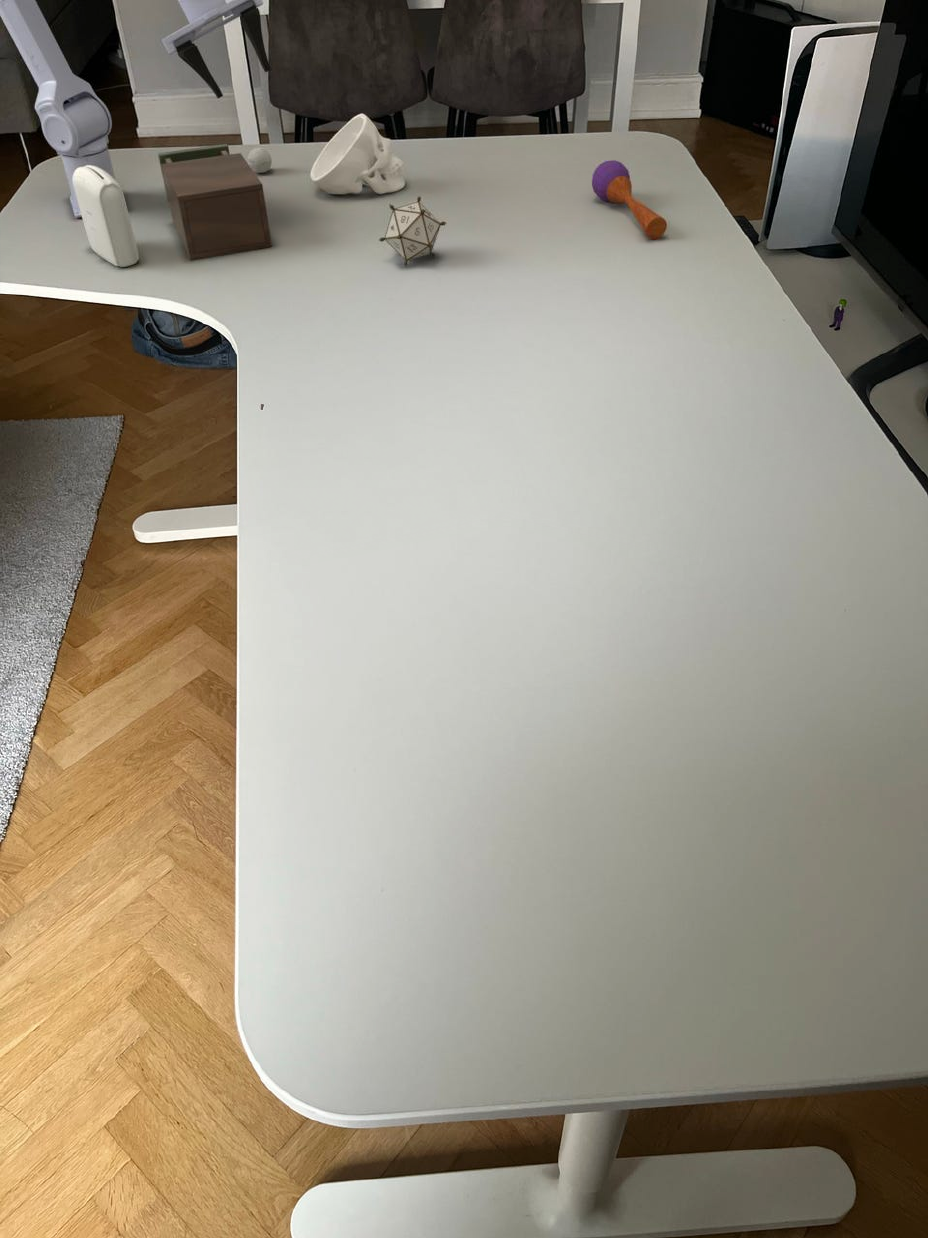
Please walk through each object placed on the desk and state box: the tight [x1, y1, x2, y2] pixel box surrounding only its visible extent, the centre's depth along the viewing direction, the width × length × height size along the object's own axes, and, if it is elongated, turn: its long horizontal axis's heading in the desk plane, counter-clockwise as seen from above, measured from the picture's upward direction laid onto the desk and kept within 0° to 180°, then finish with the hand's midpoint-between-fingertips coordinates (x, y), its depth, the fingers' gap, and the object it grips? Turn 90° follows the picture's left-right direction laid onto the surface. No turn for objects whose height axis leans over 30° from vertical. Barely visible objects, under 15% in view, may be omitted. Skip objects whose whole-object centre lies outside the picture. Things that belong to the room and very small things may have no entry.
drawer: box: [157, 143, 231, 203], centre depth 156 cm, size 18×11×7 cm, turn 22°
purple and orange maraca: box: [591, 159, 668, 240], centre depth 153 cm, size 6×6×20 cm
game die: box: [378, 195, 447, 268], centre depth 141 cm, size 9×8×10 cm
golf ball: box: [247, 147, 273, 174], centre depth 170 cm, size 4×4×4 cm
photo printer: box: [72, 165, 140, 268], centre depth 142 cm, size 10×4×12 cm, turn 39°
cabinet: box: [160, 152, 273, 261], centre depth 148 cm, size 15×12×9 cm
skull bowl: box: [309, 113, 406, 195], centre depth 163 cm, size 10×14×12 cm
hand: (244, 84), depth 139 cm, fingers open, 7 cm apart
